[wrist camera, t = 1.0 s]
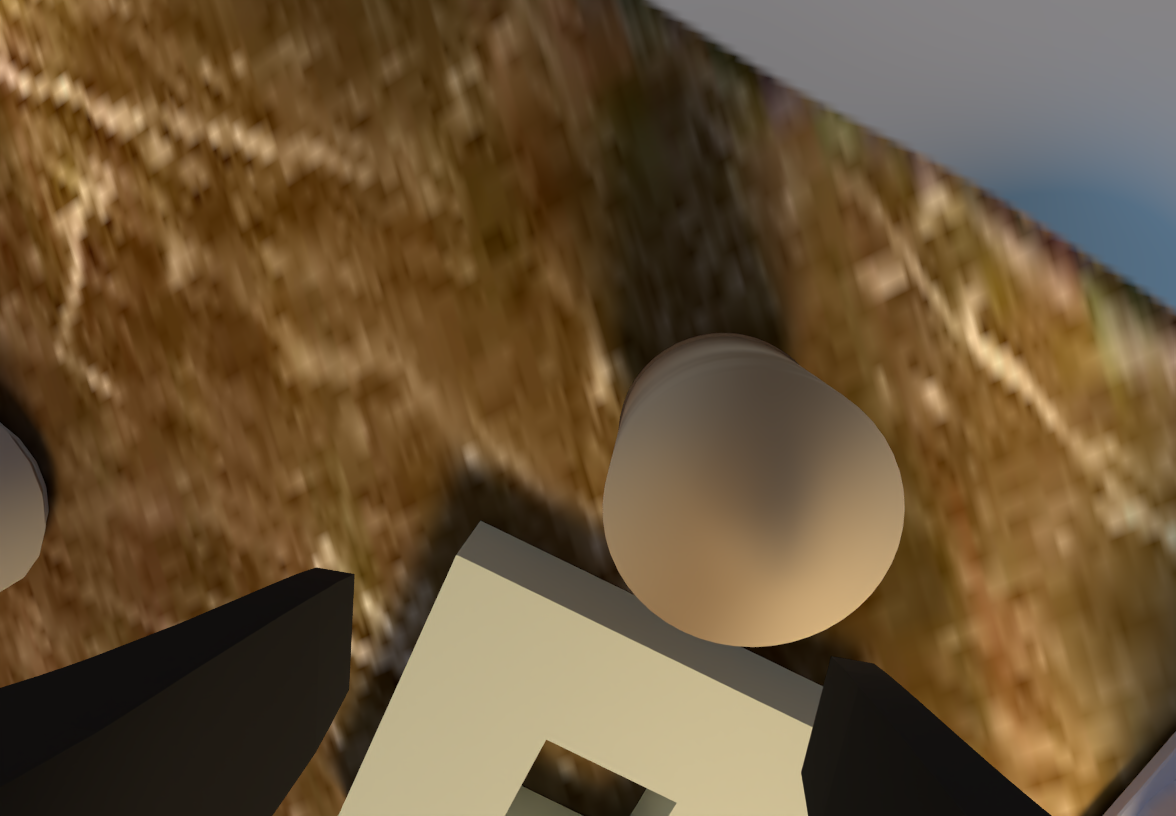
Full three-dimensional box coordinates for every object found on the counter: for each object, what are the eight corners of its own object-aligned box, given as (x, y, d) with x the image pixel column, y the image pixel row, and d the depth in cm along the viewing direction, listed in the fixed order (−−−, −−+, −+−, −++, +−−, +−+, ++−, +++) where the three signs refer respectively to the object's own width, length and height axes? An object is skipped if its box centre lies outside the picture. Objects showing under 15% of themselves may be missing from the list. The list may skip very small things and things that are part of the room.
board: (868, 708, 20) (896, 768, 18) (684, 970, 23) (687, 1051, 21) (480, 520, 20) (456, 554, 18) (349, 806, 24) (314, 869, 21)
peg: (837, 373, 18) (970, 452, 10) (749, 524, 19) (808, 695, 12) (672, 294, 18) (682, 313, 10) (595, 450, 19) (553, 571, 12)
